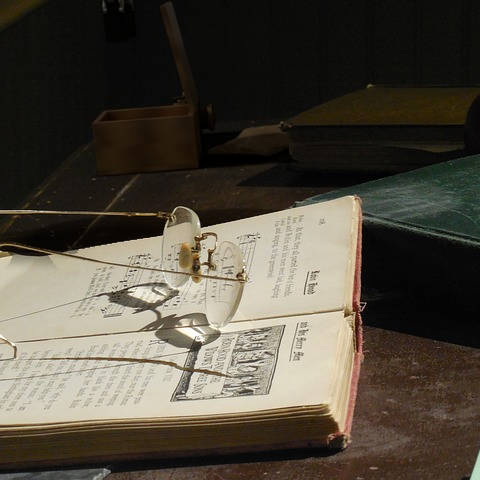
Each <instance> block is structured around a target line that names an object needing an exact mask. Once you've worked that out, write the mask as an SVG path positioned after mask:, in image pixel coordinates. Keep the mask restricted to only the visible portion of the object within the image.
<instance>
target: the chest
mask: <svg viewBox="0 0 480 480" xmlns="http://www.w3.org/2000/svg"><path fill="white" fill-rule="evenodd" d="M91 125H92V126H91V127H92V134H93V140H94V148H95V154H96V163H97V169H98V170H97V171H98V176H99V177H103V176H114V175H127V174H139V173H141V174H142V173H152V172H153V173H154V172H164V171H177V170H179V171H180V170H189V169H190V170H191V169H199V167H200V163H201V159H202V154H203V150H202V148H201V144H202V138H201V137H200V127H199V118H198V108H196V111H195V112H192V113H190V111H189V108H188V105H175V106H174V105H162V106H150V107H138V108H137V107H135V108H122V109H111V110H110V109H109V110H103V111H102V112H101V113H100V114H99V115H98V116H97V117H96V119H94V121H93V122H92V123H91Z"/></svg>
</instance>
